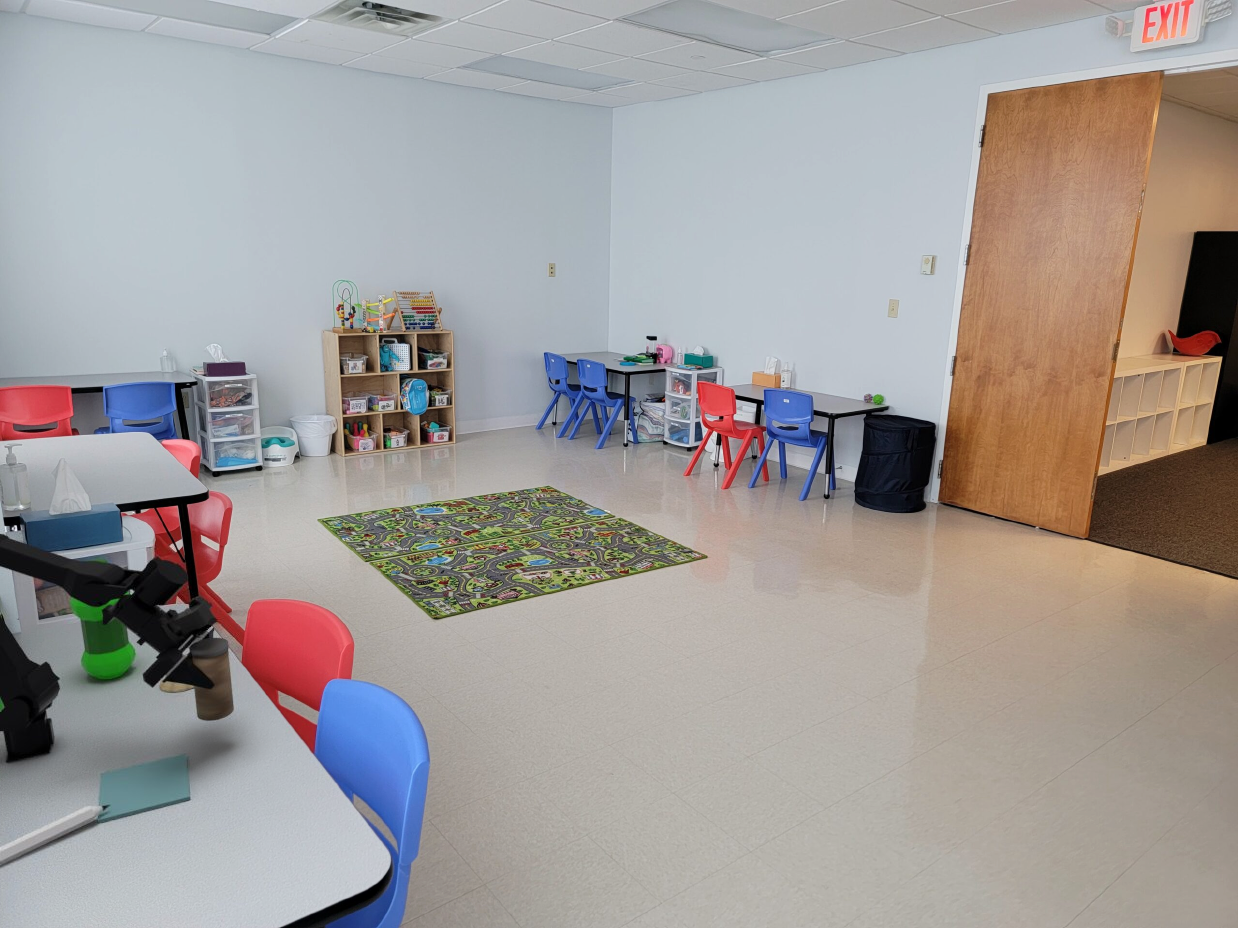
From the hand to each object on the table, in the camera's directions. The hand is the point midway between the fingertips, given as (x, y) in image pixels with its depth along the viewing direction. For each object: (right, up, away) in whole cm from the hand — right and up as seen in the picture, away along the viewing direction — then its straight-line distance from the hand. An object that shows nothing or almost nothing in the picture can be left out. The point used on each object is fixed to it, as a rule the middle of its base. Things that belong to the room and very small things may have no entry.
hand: (220, 678), depth 154 cm
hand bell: (-20, -7, +26) cm, 33 cm away
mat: (-8, -16, -9) cm, 20 cm away
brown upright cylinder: (-1, -6, +1) cm, 7 cm away
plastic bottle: (-36, -6, +29) cm, 47 cm away
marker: (-15, -19, -22) cm, 32 cm away
